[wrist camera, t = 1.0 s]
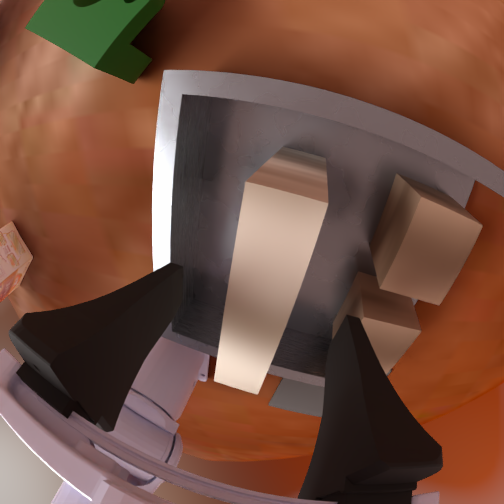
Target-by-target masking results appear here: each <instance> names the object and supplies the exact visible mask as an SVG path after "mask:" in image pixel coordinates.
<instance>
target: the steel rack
mask: <svg viewBox="0 0 504 504" xmlns="http://www.w3.org/2000/svg"><path fill="white" fill-rule="evenodd" d="M282 147H286V148H290V149H294V150H298V151H302V152H306V153H309V154H313V155H317V156H320V157H324V158H326V169H327V185H328V207H327V210H326V213H325V216H324V219H323V223H322V226H321V229H320V232H319V235H318V238H317V241H316V244H315V247H314V250H313V253H312V256H311V259H310V262H309V265H308V268H307V270H306V273H305V276H304V279H303V282H302V284H301V287H300V290H299V293H298V295H297V298H296V301H295V304H294V306H293V309H292V312H291V314H290V317H289V319H288V322H287V325H286V327H285V330H284V332H283V335H282V337H281V340H280V342H279V345H278V347H277V350H276V352H275V355H274V357H273V360H272V362H271V364H270V367H269V369H268V371H267V373H268V374H272V375H276V376H279V377H283V378H287V379H291V380H295V381H299V382H303V383H308V384H312V385H317V386H321V387H325V369H326V361H327V355H328V349H329V345H330V343H331V341H332V333H333V322H334V320H335V318H336V316H337V314H338V312H339V310H340V308H341V306H342V304H343V302H344V300H345V298H346V296H347V294H348V292H349V290H350V288H351V286H352V284H353V281H354V279H355V277H356V275H357V273H358V272H362V273H365V274H369V275H372V276H375V277H377V275H376V271H375V267H374V263H373V259H372V255H371V251H370V247H369V245H370V243H371V241H372V238H373V236H374V233H375V231H376V228H377V226H378V223H379V221H380V218H381V216H382V213H383V210H384V208H385V205H386V202H387V199H388V197H389V194H390V191H391V188H392V185H393V182H394V179H395V176H396V173H398V174H400V175H403V176H405V177H408V178H410V179H413V180H415V181H418V182H420V183H422V184H425V185H427V186H429V187H432V188H434V189H436V190H438V191H440V192H443V193H445V194H447V195H449V196H450V197H452V198H453V199H454V200H455V201H456V202H458V203H459V204H460V205H461V206H462V207H463V208H464V209H465V206H466V204H467V201H468V199H469V196H470V193H471V190H472V188H473V185H474V182H475V180H476V181H478V182H480V183H482V184H483V185H485V186H487V187H488V188H490V189H491V190H493V191H495V192H496V193H498V194H499V195H501V196H502V197H504V171H503V170H501V169H500V168H498V167H497V166H496V165H494V164H493V163H491V162H489V161H488V160H486V159H485V158H483V157H482V156H480V155H478V154H477V153H475V152H473V151H472V150H470V149H468V148H467V147H465V146H463V145H461V144H460V143H458V142H456V141H454V140H452V139H450V138H448V137H447V136H445V135H443V134H441V133H439V132H437V131H435V130H433V129H431V128H428V127H426V126H424V125H422V124H420V123H418V122H415V121H413V120H411V119H408V118H406V117H404V116H401V115H399V114H396V113H394V112H391V111H389V110H386V109H383V108H381V107H378V106H375V105H372V104H370V103H367V102H364V101H361V100H358V99H354V98H351V97H348V96H345V95H341V94H338V93H334V92H331V91H327V90H323V89H319V88H315V87H311V86H307V85H302V84H298V83H293V82H288V81H283V80H277V79H271V78H265V77H259V76H252V75H244V74H235V73H226V72H213V71H196V70H164V73H163V79H162V86H161V93H160V101H159V109H158V119H157V129H156V140H155V154H154V171H153V200H152V240H153V270H154V271H156V270H157V269H159V268H161V267H163V266H165V265H167V264H169V263H171V262H172V263H175V264H178V265H181V266H183V301H182V303H181V305H180V307H179V309H178V311H177V313H176V314H175V316H174V318H173V320H172V321H171V323H170V324H169V326H168V327H167V329H166V330H165V331H164V333H163V334H162V336H161V337H163V338H166V339H168V340H171V341H173V342H176V343H178V344H181V345H183V346H186V347H189V348H191V349H194V350H197V351H199V352H202V353H205V354H208V355H211V356H214V357H216V358H217V356H218V349H219V342H220V335H221V329H222V322H223V315H224V309H225V302H226V296H227V289H228V283H229V277H230V271H231V264H232V258H233V252H234V246H235V240H236V234H237V228H238V222H239V216H240V210H241V205H242V199H243V193H244V188H245V182H246V181H247V180H248V179H249V178H250V177H251V176H252V175H253V174H254V173H255V172H256V171H257V170H258V169H259V168H260V167H261V166H262V165H264V164H265V163H266V162H267V161H268V160H269V159H270V158H271V157H272V156H273V155H274V154H275V153H277V152H278V151H279V150H280V149H281V148H282ZM412 301H413V304H414V305H415V304H416V302H417V301H418V299H414V298H412Z"/></svg>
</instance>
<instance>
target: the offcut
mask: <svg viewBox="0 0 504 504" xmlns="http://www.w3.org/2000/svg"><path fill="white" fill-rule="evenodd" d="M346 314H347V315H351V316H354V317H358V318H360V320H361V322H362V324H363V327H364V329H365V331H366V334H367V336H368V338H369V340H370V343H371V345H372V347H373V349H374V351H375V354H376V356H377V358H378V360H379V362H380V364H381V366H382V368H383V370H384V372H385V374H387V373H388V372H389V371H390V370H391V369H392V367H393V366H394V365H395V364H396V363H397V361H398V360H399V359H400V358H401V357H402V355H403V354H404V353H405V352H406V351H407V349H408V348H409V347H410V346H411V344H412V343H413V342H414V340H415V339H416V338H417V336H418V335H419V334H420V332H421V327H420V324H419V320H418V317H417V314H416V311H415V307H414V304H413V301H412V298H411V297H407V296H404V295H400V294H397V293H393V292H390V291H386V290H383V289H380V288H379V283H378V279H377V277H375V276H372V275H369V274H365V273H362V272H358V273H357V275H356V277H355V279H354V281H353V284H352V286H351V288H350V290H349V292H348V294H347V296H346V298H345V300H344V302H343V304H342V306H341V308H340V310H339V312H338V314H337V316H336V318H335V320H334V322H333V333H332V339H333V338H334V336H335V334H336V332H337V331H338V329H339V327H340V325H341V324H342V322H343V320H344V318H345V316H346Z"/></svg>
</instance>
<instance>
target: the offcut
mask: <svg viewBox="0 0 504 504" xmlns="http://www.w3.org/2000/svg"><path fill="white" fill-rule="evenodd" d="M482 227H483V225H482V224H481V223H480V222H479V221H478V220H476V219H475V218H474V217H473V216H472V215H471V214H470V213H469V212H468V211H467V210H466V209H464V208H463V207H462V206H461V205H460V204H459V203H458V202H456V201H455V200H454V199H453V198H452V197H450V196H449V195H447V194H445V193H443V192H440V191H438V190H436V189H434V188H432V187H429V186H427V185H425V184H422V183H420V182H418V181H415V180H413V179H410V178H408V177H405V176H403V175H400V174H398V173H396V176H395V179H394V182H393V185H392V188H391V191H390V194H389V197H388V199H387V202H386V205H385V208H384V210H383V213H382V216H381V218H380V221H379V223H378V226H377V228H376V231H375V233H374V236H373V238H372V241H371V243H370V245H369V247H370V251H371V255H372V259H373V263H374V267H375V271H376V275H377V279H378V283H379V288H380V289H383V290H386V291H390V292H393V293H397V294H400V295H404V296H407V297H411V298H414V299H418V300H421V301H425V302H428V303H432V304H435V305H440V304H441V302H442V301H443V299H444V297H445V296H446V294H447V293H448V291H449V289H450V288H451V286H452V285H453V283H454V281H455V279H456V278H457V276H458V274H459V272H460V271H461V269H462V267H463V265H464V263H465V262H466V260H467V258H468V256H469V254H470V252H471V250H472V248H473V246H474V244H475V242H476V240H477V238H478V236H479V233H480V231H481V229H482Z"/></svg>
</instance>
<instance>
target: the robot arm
mask: <svg viewBox="0 0 504 504" xmlns="http://www.w3.org/2000/svg"><path fill="white" fill-rule="evenodd" d="M182 301H183V266H181V265H178V264H175V263H172V262H171V263H169V264H167V265H165V266H163V267H161V268H159V269H157V270H156V271H154V272H152V273H150V274H148V275H146V276H144V277H143V278H141V279H139V280H137V281H135V282H133V283H131V284H129V285H127V286H125V287H123V288H121V289H118V290H116V291H114V292H112V293H110V294H107V295H105V296H102V297H99V298H97V299H94V300H91V301H88V302H84V303H81V304H78V305H74V306H70V307H66V308H61V309H56V310H51V311H43V312H34V313H26V314H25V315H24V316H23V317H22V318H21V319H20V320H19V321H18V322H17V323H16V324H15V325H14V326H13V327H12V328H11V329H10V330H9V337H10V339H11V341H12V343H13V344H14V346H15V347H16V349H17V350H18V352H19V354H20V355H21V356H22V358H23V360H24V361H25V362H24V363H23V365H21V364H20V363H19V362H18V361H17V360H16V359H15V358H14V357H13V356H12V355H11V354H10V353H9V352H8V351H7V350H6V349H5V348H3V349H2V350H1V352H0V415H1V416H2V418H3V419H4V420H5V421H6V422H7V424H8V425H9V426H10V427H11V428H12V430H13V431H14V432H15V433H16V434H17V435H18V436H19V438H20V439H21V440H22V441H23V442H24V443H25V444H26V445H27V446H28V447H29V448H30V449H31V450H32V451H33V452H34V453H35V454H36V455H37V456H38V457H39V458H40V459H41V460H42V461H43V462H44V463H45V464H46V465H47V466H48V467H49V468H51V469H52V470H53V471H54V472H55V473H56V474H58V476H60V477H61V478H62V479H63V480H64V481H63V483H62V485H61V486H60V488H59V490H58V491H57V493H56V495H55V497H54V498H53V500H52V502H51V504H175V503H172V502H170V501H168V500H165V499H163V498H160V497H158V496H156V495H153V493H154V491H155V490H156V489H157V488H158V487H159V485H161V484H162V483H163V482H164V481H167V482H169V483H171V484H174V485H177V486H179V487H182V488H184V489H187V490H190V491H193V492H195V493H198V494H201V495H205V496H208V497H211V498H214V499H218V500H221V501H225V502H229V503H232V504H439V492H438V491H436V492H431V493H425V494H419V495H415V496H412V490H415V489H416V488H417V481H420V480H422V479H425V478H427V477H429V476H431V475H433V474H435V473H437V472H438V471H440V470H441V468H442V467H443V459H442V447H441V446H440V445H439V444H438V443H437V442H436V441H435V440H434V439H433V438H432V437H431V436H430V435H429V434H428V433H427V432H426V431H425V430H424V429H423V427H422V426H421V425H420V424H419V423H418V422H417V420H416V419H415V418H414V417H413V415H412V414H411V413H410V412H409V410H408V409H407V407H406V406H405V405H404V403H403V402H402V400H401V399H400V397H399V396H398V394H397V393H396V391H395V389H394V388H393V386H392V385H391V383H390V381H389V379H388V378H387V376H386V374H385V372H384V370H383V368H382V366H381V364H380V362H379V360H378V358H377V356H376V354H375V351H374V349H373V347H372V345H371V343H370V340H369V338H368V336H367V334H366V331H365V329H364V327H363V324H362V322H361V320H360V318H358V317H354V316H351V315H347V314H346V316H345V318H344V320H343V322H342V324H341V325H340V327H339V329H338V331H337V332H336V334H335V336H334V338H333V339H332V341H331V343H330V345H329V349H328V355H327V361H326V369H325V387H324V402H323V412H322V419H321V424H320V429H319V433H318V437H317V441H316V445H315V449H314V453H313V456H312V460H311V463H310V466H309V469H308V472H307V475H306V477H305V480H304V483H303V485H302V488H301V490H300V493H299V495H298V499H296V498H288V497H282V496H276V495H270V494H265V493H260V492H255V491H251V490H247V489H242V488H238V487H235V486H231V485H227V484H223V483H220V482H217V481H213V480H210V479H207V478H204V477H201V476H198V475H196V474H193V473H190V472H187V471H185V470H182V469H180V468H177V465H178V463H179V460H180V458H181V454H182V450H183V444H182V441H181V436H180V434H179V433H177V432H176V431H177V429H178V426H179V424H178V423H176V422H175V421H176V420H177V419H178V418H179V417H180V416H181V414H182V412H183V410H184V408H185V406H186V404H187V402H188V399H189V397H190V395H191V393H192V391H193V389H194V387H195V385H196V383H197V380H201V381H207V378H208V368H209V358H210V355H208V354H205V353H202V352H199V351H197V350H194V349H191V348H189V347H186V346H183V345H181V344H178V343H176V342H173V341H171V340H168V339H166V338H163V337H161V336H162V334H163V333H164V331H165V330H166V329H167V327H168V326H169V324H170V323H171V321H172V320H173V318H174V316H175V314H176V313H177V311H178V309H179V307H180V305H181V303H182Z"/></svg>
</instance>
